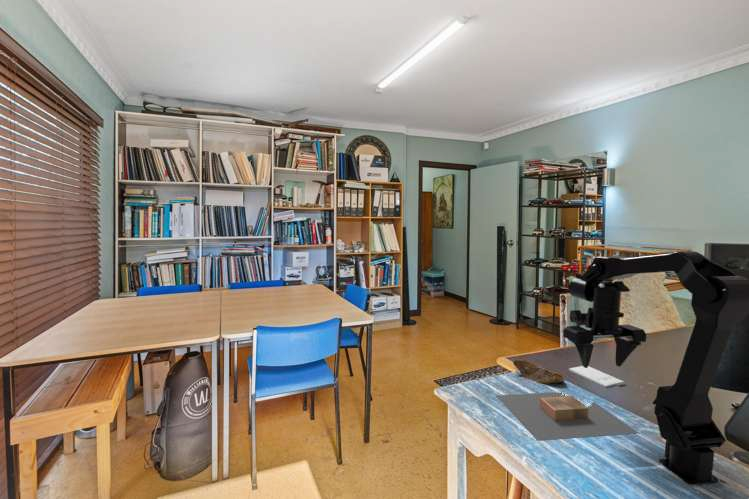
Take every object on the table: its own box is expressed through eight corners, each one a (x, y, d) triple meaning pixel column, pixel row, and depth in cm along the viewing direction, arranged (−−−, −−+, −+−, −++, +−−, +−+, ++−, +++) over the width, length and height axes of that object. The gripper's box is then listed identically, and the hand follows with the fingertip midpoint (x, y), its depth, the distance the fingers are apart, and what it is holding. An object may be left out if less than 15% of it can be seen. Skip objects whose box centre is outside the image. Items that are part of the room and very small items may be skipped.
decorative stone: (523, 351, 119) (571, 371, 108) (520, 363, 119) (568, 384, 109) (509, 358, 112) (559, 380, 101) (507, 371, 113) (556, 394, 102)
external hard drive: (586, 369, 118) (624, 386, 106) (568, 373, 115) (605, 390, 103) (586, 364, 118) (624, 380, 106) (568, 368, 115) (605, 385, 103)
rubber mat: (639, 434, 81) (639, 433, 81) (537, 442, 78) (537, 440, 78) (578, 392, 101) (578, 390, 101) (495, 396, 98) (495, 395, 98)
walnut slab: (588, 408, 87) (554, 410, 86) (587, 417, 87) (554, 420, 86) (572, 395, 93) (540, 397, 92) (571, 405, 93) (539, 407, 92)
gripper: (614, 298, 98) (610, 353, 99) (551, 299, 95) (548, 355, 97) (650, 308, 87) (645, 370, 88) (580, 310, 84) (576, 373, 86)
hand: (601, 366), depth 90 cm, fingers open, 9 cm apart
